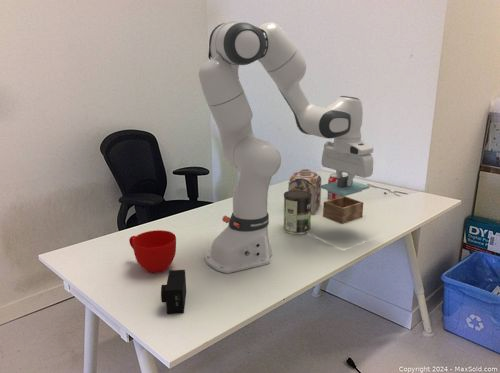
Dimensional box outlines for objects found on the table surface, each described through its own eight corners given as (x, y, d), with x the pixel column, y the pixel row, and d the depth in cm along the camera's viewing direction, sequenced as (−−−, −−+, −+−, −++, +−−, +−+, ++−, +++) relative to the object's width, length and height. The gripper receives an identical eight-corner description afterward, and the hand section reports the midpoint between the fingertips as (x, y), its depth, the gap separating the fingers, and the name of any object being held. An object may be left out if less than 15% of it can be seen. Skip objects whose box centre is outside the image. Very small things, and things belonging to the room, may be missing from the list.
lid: (343, 199, 134) (344, 184, 133) (319, 190, 143) (320, 177, 141) (369, 191, 141) (370, 177, 140) (345, 184, 150) (345, 171, 149)
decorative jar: (314, 217, 166) (316, 174, 161) (287, 213, 170) (287, 172, 165) (320, 207, 177) (322, 167, 171) (294, 204, 181) (295, 165, 175)
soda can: (345, 199, 186) (346, 174, 183) (339, 204, 181) (341, 178, 177) (330, 197, 190) (331, 172, 186) (324, 201, 184) (326, 176, 181)
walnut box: (341, 225, 157) (342, 208, 155) (322, 218, 165) (323, 201, 163) (362, 218, 164) (363, 202, 162) (343, 211, 172) (344, 196, 169)
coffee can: (311, 225, 158) (312, 190, 154) (309, 235, 149) (310, 199, 144) (284, 223, 160) (285, 189, 156) (281, 233, 151) (282, 197, 146)
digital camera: (166, 292, 113) (164, 270, 111) (186, 291, 113) (184, 269, 111) (162, 314, 103) (160, 290, 101) (183, 313, 104) (182, 289, 101)
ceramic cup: (146, 252, 137) (144, 224, 134) (186, 264, 128) (184, 235, 125) (116, 269, 126) (113, 239, 123) (158, 283, 118) (155, 251, 115)
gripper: (318, 141, 144) (316, 179, 148) (364, 151, 128) (361, 193, 132) (330, 139, 147) (329, 176, 151) (377, 148, 131) (374, 189, 135)
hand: (344, 184), depth 141 cm, fingers closed on lid
